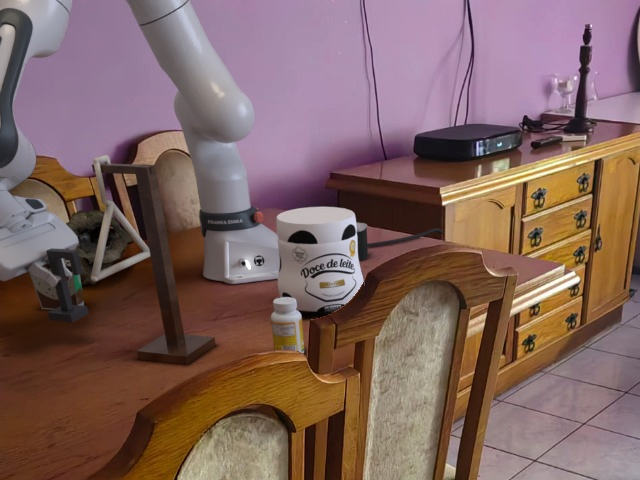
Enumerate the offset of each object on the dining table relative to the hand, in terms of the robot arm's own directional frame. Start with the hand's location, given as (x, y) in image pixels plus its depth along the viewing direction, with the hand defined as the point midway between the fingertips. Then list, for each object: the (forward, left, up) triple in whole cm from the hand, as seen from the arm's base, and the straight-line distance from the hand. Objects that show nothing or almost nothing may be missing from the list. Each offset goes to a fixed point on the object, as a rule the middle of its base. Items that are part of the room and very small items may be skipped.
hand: (63, 281), depth 151 cm
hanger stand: (-17, +9, -11) cm, 22 cm away
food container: (+5, -23, -11) cm, 26 cm away
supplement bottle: (-39, +15, -11) cm, 43 cm away
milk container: (-47, -10, -11) cm, 49 cm away
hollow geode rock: (+2, -47, -11) cm, 48 cm away
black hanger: (0, 0, -7) cm, 7 cm away
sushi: (-57, -47, -11) cm, 74 cm away
